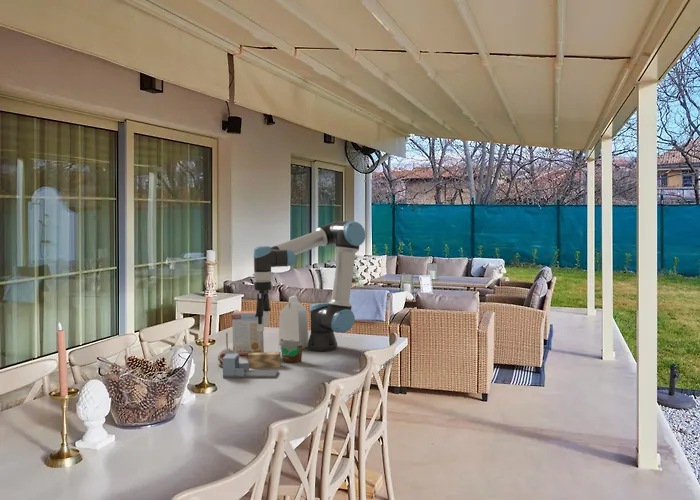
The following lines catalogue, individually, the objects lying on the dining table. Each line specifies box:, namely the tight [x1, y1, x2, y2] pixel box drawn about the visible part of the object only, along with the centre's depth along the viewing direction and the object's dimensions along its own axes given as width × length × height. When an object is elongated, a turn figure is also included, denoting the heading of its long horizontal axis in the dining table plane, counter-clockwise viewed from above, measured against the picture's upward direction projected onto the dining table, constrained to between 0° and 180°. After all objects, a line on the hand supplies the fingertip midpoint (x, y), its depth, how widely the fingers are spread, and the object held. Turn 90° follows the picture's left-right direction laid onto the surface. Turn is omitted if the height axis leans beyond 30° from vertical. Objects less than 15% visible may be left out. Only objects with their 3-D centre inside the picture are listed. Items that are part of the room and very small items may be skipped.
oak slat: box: [247, 351, 282, 369], centre depth 274 cm, size 14×4×6 cm, turn 92°
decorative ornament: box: [217, 332, 235, 368], centre depth 276 cm, size 8×8×15 cm
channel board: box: [222, 354, 279, 379], centre depth 260 cm, size 22×11×8 cm, turn 88°
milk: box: [277, 295, 309, 350], centre depth 312 cm, size 12×12×26 cm
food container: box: [278, 338, 304, 364], centre depth 282 cm, size 12×6×10 cm, turn 62°
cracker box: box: [231, 310, 265, 356], centre depth 297 cm, size 14×6×21 cm, turn 84°
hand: (263, 328), depth 273 cm, fingers open, 13 cm apart
